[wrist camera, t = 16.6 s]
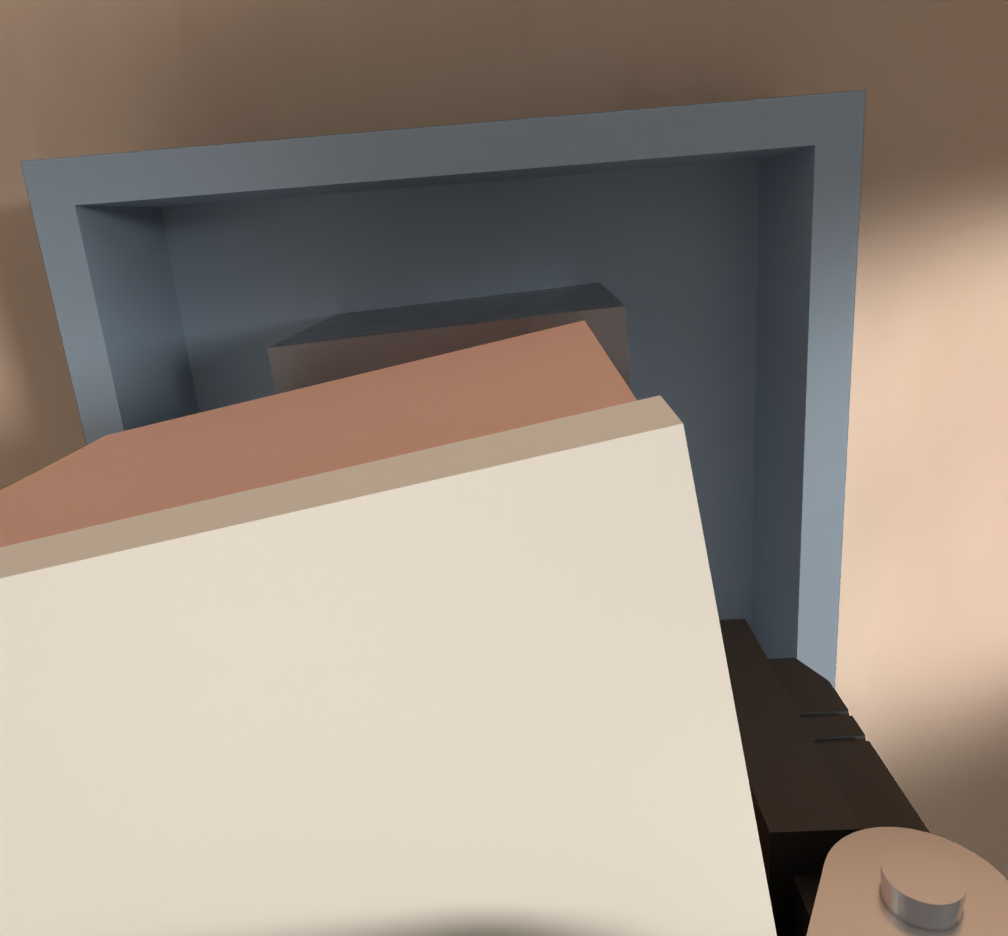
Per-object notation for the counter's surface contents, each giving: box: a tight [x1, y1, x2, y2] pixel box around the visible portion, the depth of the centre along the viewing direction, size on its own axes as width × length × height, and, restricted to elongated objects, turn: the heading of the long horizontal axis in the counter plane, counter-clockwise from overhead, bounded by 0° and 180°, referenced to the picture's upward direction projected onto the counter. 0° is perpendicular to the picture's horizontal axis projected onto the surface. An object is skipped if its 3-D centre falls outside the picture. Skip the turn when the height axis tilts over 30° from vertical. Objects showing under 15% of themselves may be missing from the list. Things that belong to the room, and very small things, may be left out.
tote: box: [20, 90, 866, 689], centre depth 18 cm, size 15×15×4 cm
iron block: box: [267, 283, 632, 394], centre depth 17 cm, size 6×8×5 cm
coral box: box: [0, 320, 777, 936], centre depth 8 cm, size 6×8×6 cm
